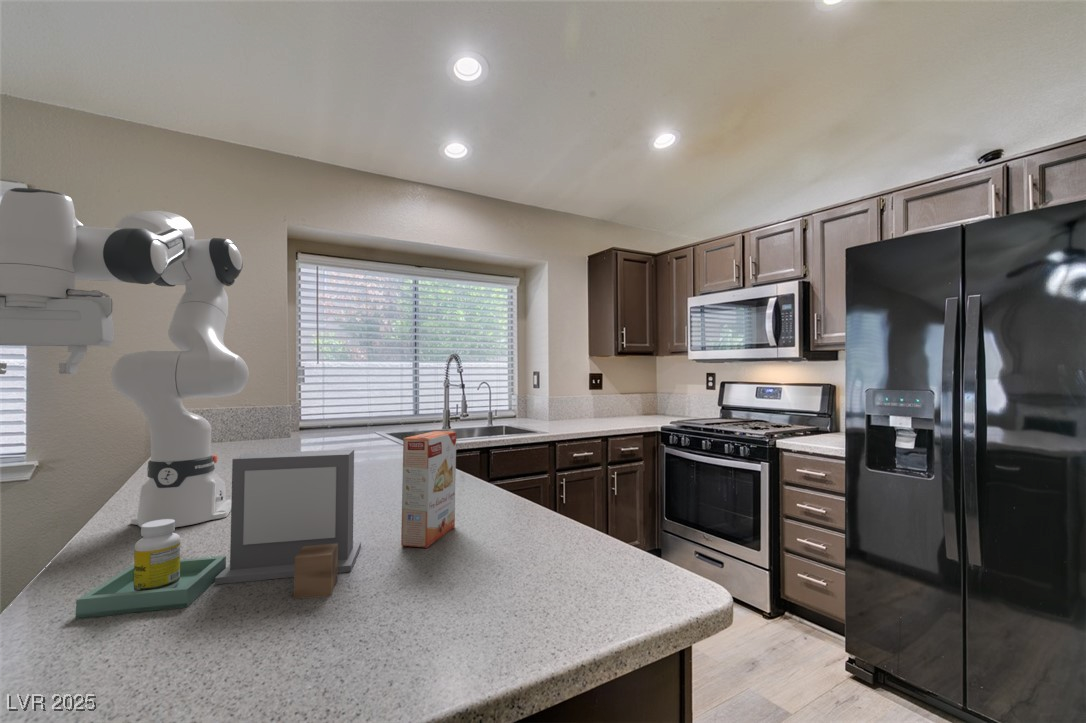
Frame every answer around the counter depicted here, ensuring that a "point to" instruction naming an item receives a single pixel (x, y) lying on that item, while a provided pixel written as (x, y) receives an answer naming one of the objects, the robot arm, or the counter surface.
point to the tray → (123, 599)
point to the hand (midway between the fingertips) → (32, 374)
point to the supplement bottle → (157, 556)
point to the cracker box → (428, 487)
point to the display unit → (289, 512)
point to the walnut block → (315, 571)
